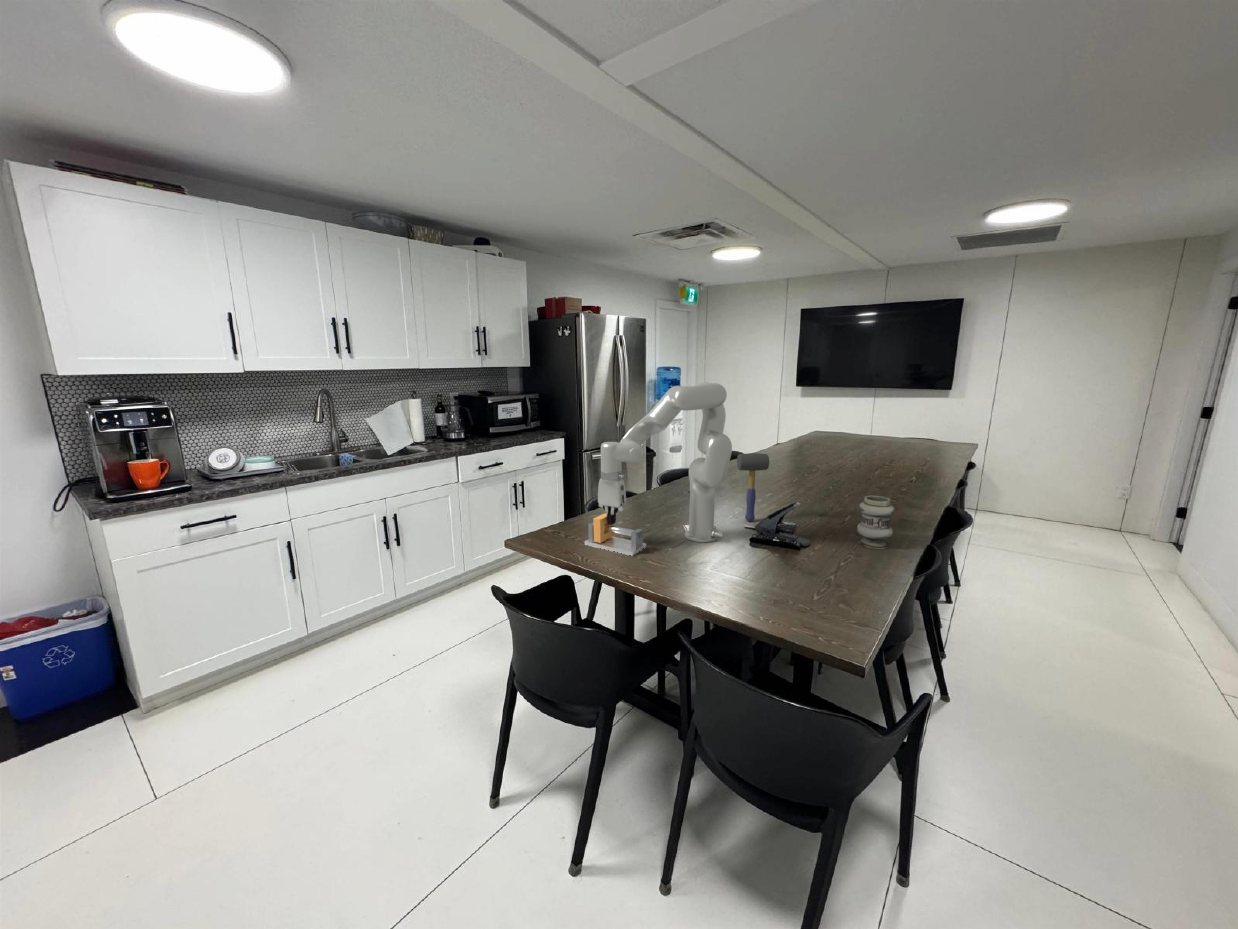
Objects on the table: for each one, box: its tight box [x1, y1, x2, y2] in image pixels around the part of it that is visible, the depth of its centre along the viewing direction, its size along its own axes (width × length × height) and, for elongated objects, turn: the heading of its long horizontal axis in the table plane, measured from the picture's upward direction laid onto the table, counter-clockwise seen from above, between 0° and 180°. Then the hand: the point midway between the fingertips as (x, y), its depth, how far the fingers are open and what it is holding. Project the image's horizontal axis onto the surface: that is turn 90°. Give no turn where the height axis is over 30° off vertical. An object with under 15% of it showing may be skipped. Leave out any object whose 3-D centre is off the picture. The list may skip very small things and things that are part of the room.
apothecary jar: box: [856, 495, 896, 550], centre depth 179 cm, size 12×12×18 cm
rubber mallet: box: [736, 452, 770, 522], centre depth 205 cm, size 12×8×30 cm, turn 90°
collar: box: [592, 513, 615, 543], centre depth 181 cm, size 3×9×9 cm, turn 148°
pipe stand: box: [584, 521, 647, 557], centre depth 179 cm, size 21×10×8 cm, turn 57°
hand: (611, 523), depth 179 cm, fingers closed
